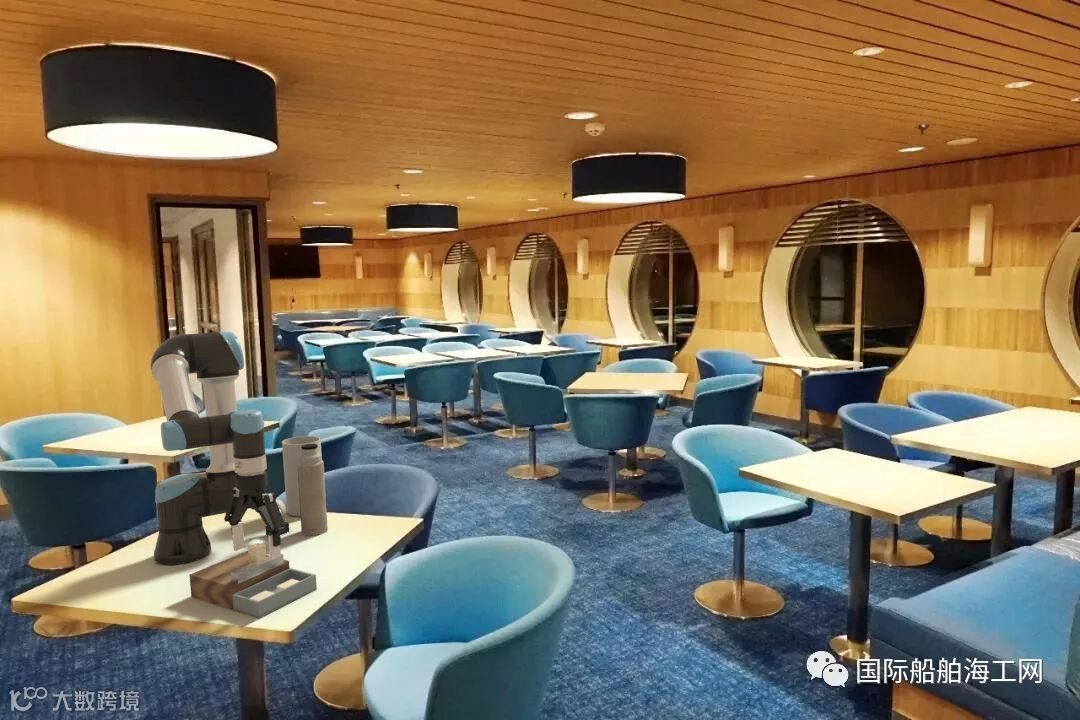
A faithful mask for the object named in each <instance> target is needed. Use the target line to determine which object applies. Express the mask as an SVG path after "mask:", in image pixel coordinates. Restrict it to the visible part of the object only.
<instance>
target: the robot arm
mask: <svg viewBox="0 0 1080 720" xmlns="http://www.w3.org/2000/svg"><path fill="white" fill-rule="evenodd" d="M243 353H244V352H243V349H242V345H241V342H240V340H239V337H238V336H237V335H236V334H235V333H234V332H232V331H216V332H199V333H184V334H183V333H182V334H177V335H173V336H172V337H168V338H167V339H166V340H165V341H163V342H162V343H161V344H159V346H158V347H157V348H156V350H155V351H154V353H153V355H152V356H151V360H150V371H151V374H152V377H153V378H154V379H155V380H156V382H158V386H159V387H158V388H159V392H160V395H161V400H162V404H163V405H162V406H163V410H164V414H165V417H166V418H165V419H166V421H162V423H161V424H160V437H161V443H162V447H163V450H164V451H167V452H173V451H174V452H175V451H180V452H181V451H186V450H192V449H198V448H205V447H208V448H209V449H208V451H209V459H210V463H209V464H210V465H209V466H208V467H207V468H206V469H205V476H203V477H200V476H199V474H198V473H196V472H189V473H181V474H177V475H174V476H171V477H168V478H165V479H163V480H161V482H159V483H158V484H157V485H156V487H155V489H154V490H155V491H154V493H155V499H154V502H155V503H156V516H157V527H158V528H157V529H158V534H157V535H158V537H157V539H156V544H155V548H154V550H153V559H154V562H155V563H156V564H158V565H165V566H173V565H175V566H176V565H183V564H188V563H191V562H195V561H199V560H201V559H203V558H205V557H208V555H210V554H211V552H212V543H211V541H210V539H209V536H208V534H207V532H206V530H205V528H204V526H203V525H204V524H203V518H205V517H212V516H216V515H222V514H225V515H224V518H223V519H224V522H226V523H227V522H228V523H229V525H230V529H231V536H232V545H233V547H232V548H233V551H235V552H237V551H239V550H242V549H243V548H245V536H244V525H243V517H244V515H245V514H246V512H247V510H248V509H251V510H253V511H255V512H256V513H258V514H259V516H260V517H261V519H262V521H263V522H264V524H265V526H267V528H268V529H269V531H270V534H268V536H267V537H268V549H269V550H268V551H269V556H270V560H274V559H276V558H278V557H281V554H282V553H281V544H282V541H281V538H282V537H281V536H280V533H281V532H282V531H285V530H286V525H285V523H284V520H283V518H282V515H281V510H280V508H279V506H278V505H277V503H276V499H277V498H276V493H275V492H270V493H267V492H266V488H267V486H268V484H269V482H268V471H266V470H267V468H268V466H267V464H268V463H267V454H266V446H265V445H266V444H265V422H264V417H263V413H262V411H261V410H259V409H241V410H238V408H237V397H236V385H235V384H236V383H235V382H236V380H237V379H238V378H239V377H240V371H241V370H243V369H245V359H244V354H243ZM191 374H196V380H198V382H200V383H201V384H202V385H203V393H204V404H205V405H204V406H205V415H206V416H203V417H201V416H200V415H199V414H200V413H199V411H198V406H197V404H196V401H195V397H194V394H193V393H194V392H193V390H192V389H193V388H192V386H191V382H190V379H189V375H191ZM280 526H281V527H280ZM273 527H274V528H273Z"/></svg>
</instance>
